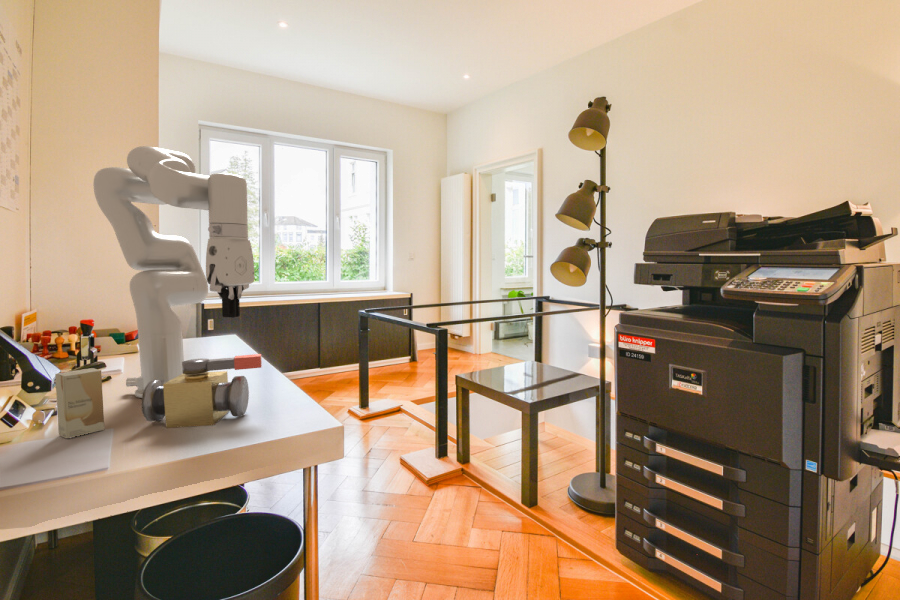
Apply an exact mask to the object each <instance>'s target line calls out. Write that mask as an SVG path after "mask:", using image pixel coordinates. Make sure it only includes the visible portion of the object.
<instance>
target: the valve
mask: <svg viewBox="0 0 900 600" xmlns="http://www.w3.org/2000/svg"><path fill="white" fill-rule="evenodd" d="M228 378H229V377H228V370H222V371H221V370H219V371H208V372H204V373H199V374H181V375H179V376H177V377H176V378H174V379H172V380H170V381H168V382H165V381H164V380H152V381H150V382H149V383H148V384H147V386H146V387H145V389H144V392H143V396H142V398H141V412H142V414H143V417H144V419H145V420H146V421H147V422H160V421H162V420H163V419H164V418H165V428H166V429H172V428H173V429H174V428H187V427H189V428H190V426H191V427H205V426H206V427H207V426H208V427H209V426H214V425H216V424H217V423H218V422H219V421H220V420H222V418H223V417H224V416H225V415H227V414H228V413H227V412H230V414H231V416H232V417H242V416H244V415H245V413H247V408H248V405H249V398H250V397H249V395H250V392H249V391H250V390H249V383H248V379H247V377H246V376H245V375H241V376H240V375H236V376H234V377H232V380H231V381H230V382H229V380H228ZM226 413H227V414H226Z"/></svg>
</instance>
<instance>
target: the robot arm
mask: <svg viewBox="0 0 900 600" xmlns="http://www.w3.org/2000/svg"><path fill="white" fill-rule="evenodd" d="M126 164H127V166H128V168H127V167H120V166H119V167H117V166H114V167H112V166H111V167H105V168H101V169H99V170H97V172H96V173H95V175H94V177H93V192H94V193H93V194H94V196H95V201H96V203H97V205H98V207H99V208H100V211H102V214H103V215H104V216H105V218H106V219H107V221H108V222H109V223H110V224H111V226H112V229H113V231H114V233H115V236H116V239H117V241H118V244H119V247H120V249H121V252H122V254H123V257H124V259H125V261H126V263H127V265H128V267H130V268H131V269H132V270H134V271H135V270H136V271H139V272H137V273H135V274H134V275H133V276H132V277H131V279H130V282H129V292H130V296H131V300H132V303H133V306H134V311H135V317H136V318H135V319H136V324H137V325H136V326H137V339H138V351H139V352H138V353H139V363H140V364H139V365H140V376H138V377H137V376H136V377H127V379H126V381H125V386H126V387H137V388H136V390H135V391H134V396H135V397H136V398H139V399H140V398H141V399H142V396H143V392H144V389H145V387H146V386H147V384H148V383H149V382H150V381H152V380H164V381H165V382H168V381H170V380H172V379H174V378H176V377H177V376H179V375H181V374H183V371H182V362H183V361H185V355H184V338H183V337H184V336H183V326H182V322H181V319H180V318H179V316H178V315H177V314H176V313H175V312H174V311H173V309H172V308H171V307H175V306H186V305H197V304H200V303H202V302H203V301H206V299H207V296H208V294H209V291H210V292H211V293H212V292H213V293H217V294H218V298H219V299H220V300H221V315H222V317H223V318H231V319H232V318H233V319H234V318H238V317H240V316H241V315H240V314H241V312H240V311H241V310H240V308H241V307H240V299H241V298H242V293H243V292H244V291H245V290H247V289H249V288H250V285H251V284H253V283H254V282H255V263H254V253H253V248H252V244H251V240H249V228H248V227H249V226H248V187H247V186H248V185H247V184H248V183H247V181H246V179H245V178H244V176H241V175H238V174H232V173H225V172H224V173H223V172H218V173H211V174H210V175H204V174H199V173H196V166H195V163H194V161H193V160H192V159H191V158H190V156H189V155H187V154H185V153H183V152H181V151H175V150H171V149H165V148H161V147H156V146H155V147H154V146H150V145H142V146H136V147H134V148H132V149H131V150H130V151H129V153H128V154H127V156H126ZM133 203H140V204H149V205H150V204H151V205H170V206H171V207H176V208H181V209H192V210H204V211H208V223H209V224H208V228H207V231H208V232H209V233H208V236H209V238H208V239H207V246H206V251H205V253H206V255H205V272H204V269H203V268H202V265H201V262H200V261H199V258H198V255H197V254H196V251H195V249H194V246H193V245H192V244H191V242H190V241H189V240H188V239H187V238H185V237H182V236H179V235H168V234H167V235H165V234H159V233H157V232H156V230H155V228H154V225H153V224H152V221H151V219H150V218H149V216H148V215H146V214H145V212H143V211H142V210H141V209H140V208H138V207H137V206H135V205H134V204H133ZM208 284H209V285H208Z"/></svg>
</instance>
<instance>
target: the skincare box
mask: <svg viewBox="0 0 900 600" xmlns="http://www.w3.org/2000/svg"><path fill="white" fill-rule="evenodd" d="M54 378H55V390H56V393H55V395H56V409H57V410H56V411H57V422H58V423H57V427H58V435H59V436H60V437H62V438H64V439H66V438H70V437H73V438H76V437H75V436H77V437H80V435H81V436H84V434H85V435H87V434H88V433H89V434H92V433H97V432H100V431H104V430H105V416H104V415H105V414H104V398H103V396H104V395H103V380H102V370H101V369H99V368H98V369H97V368H94V367H91V368H84V369H78V370H77V369H76V370H70V371H64V372H58V373H55V374H54ZM70 439H71V438H70Z"/></svg>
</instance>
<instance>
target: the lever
mask: <svg viewBox="0 0 900 600" xmlns="http://www.w3.org/2000/svg"><path fill="white" fill-rule="evenodd" d="M262 363H263V362H262V354H261V353H257V354H256V353H255V354H254V353H253V354H245V355H235V356H234V357H225V358H224V357H223V358H213V359H211V358H210V359H209V358H193V359H188V360H184V361H183V362H182V371H183V374H199V373H204V372H214V371H221V370H222V371H226V370H233V369H234V371H238V370H250V369H260V368H262Z"/></svg>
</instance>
